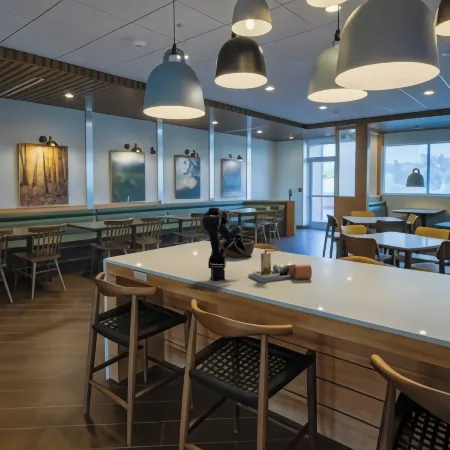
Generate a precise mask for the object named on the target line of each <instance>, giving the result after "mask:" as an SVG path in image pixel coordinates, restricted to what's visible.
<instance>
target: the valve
mask: <svg viewBox="0 0 450 450" xmlns="http://www.w3.org/2000/svg"><path fill="white" fill-rule="evenodd" d="M272 252H275V249H270V248H269V249H266V248H265V249H264V252H260V271H261V272H260V273H259V274H260V275H263V276H264V275H272V274H273V273H272V272H271V269H272V268H271V267H272V262H271V261H272V259H271V258H272V254H271V253H272Z"/></svg>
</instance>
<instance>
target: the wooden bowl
mask: <svg viewBox="0 0 450 450" xmlns="http://www.w3.org/2000/svg"><path fill="white" fill-rule="evenodd" d="M219 242H220V248H221V249H224V248H223V244H224V243H225V242H226V241H225V240H224V239H222V240H219ZM242 242H243V244H244V246H245V248H246V251H244V250H242V249H240V248H239V247H238V249H239V250H240V252H241V255H239V254H237V253H235V252H232V251H230V250H227V249H224V253H225V256H226V258H229V257H236V258H235V259H239V258H238V257H244V258H249V257H251V256H252V255H253V252H254V247H255V241H254V240H253V239H248V238H242ZM227 248H228V247H227ZM248 256H249V257H248Z"/></svg>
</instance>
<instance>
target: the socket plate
mask: <svg viewBox="0 0 450 450" xmlns="http://www.w3.org/2000/svg"><path fill="white" fill-rule="evenodd" d="M260 272H261V270H258V271H257V270H256V271H252V273H248V276H247V277H248V278H250V279H252V280H255V281H257V282H259V283H261V284H262V283H270V282H277V281H279V282H280V281H285V280H292V279H293V280H295V279H294V275H291V274H288V272H289V267H288V264H284V265H279V264H278V263H277V264H276V263H275V264H274V265H272V270H271V272H272V273H273V274H272V275H264V276H263V275H260V274H259V273H260Z"/></svg>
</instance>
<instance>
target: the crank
mask: <svg viewBox="0 0 450 450" xmlns="http://www.w3.org/2000/svg"><path fill="white" fill-rule="evenodd" d="M287 265H288V264H287ZM288 267H289V272H288V274H291V275H294V279H293V280H295V281H296V280H309V279H311V278H312V275H313V274H312V273H313V271H312V266H311V265H310V263H299V264H298V263H296V264H295V263H294V264H289V265H288Z"/></svg>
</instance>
